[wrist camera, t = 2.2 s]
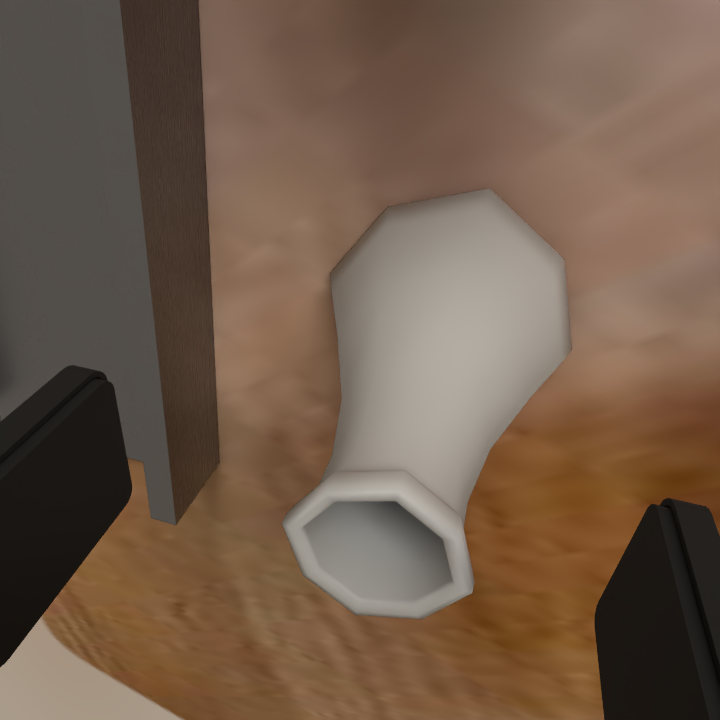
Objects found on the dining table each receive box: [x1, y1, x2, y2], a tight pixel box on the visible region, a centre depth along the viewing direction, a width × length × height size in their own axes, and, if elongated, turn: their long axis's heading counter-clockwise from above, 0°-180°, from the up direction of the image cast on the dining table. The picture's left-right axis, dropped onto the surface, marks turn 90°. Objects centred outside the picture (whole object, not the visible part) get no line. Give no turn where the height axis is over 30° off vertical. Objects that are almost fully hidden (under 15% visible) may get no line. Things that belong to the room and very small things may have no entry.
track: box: [0, 0, 219, 525], centre depth 18 cm, size 20×12×4 cm, turn 174°
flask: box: [282, 188, 572, 619], centre depth 14 cm, size 7×7×10 cm
